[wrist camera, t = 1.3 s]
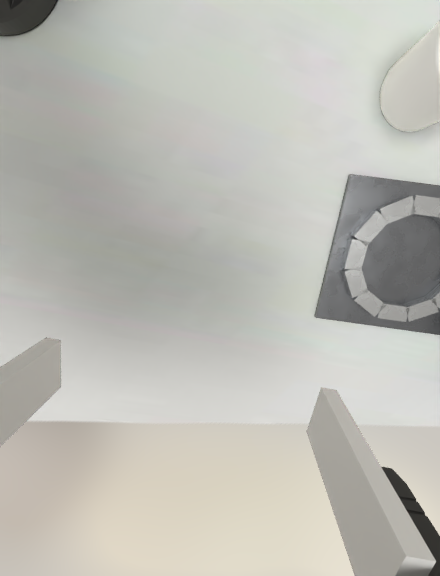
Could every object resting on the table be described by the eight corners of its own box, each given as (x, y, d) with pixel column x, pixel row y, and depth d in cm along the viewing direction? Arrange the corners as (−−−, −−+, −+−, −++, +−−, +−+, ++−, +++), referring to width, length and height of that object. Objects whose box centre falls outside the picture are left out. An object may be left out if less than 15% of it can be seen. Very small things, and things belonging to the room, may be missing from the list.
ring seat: (348, 175, 31) (355, 172, 29) (502, 194, 30) (518, 193, 29) (314, 315, 36) (318, 321, 34) (447, 334, 35) (457, 340, 34)
